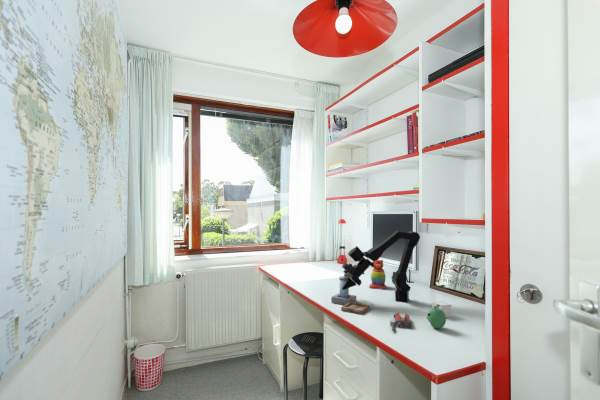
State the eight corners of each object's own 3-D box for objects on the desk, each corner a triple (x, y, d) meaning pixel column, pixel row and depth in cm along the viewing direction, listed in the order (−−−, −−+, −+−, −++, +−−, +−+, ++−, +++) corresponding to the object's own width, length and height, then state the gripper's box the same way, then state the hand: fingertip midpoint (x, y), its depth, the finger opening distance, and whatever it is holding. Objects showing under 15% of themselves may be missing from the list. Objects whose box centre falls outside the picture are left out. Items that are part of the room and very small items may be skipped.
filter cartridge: (350, 299, 178) (350, 276, 178) (346, 301, 173) (346, 278, 174) (341, 298, 181) (341, 275, 181) (337, 300, 176) (337, 277, 177)
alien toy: (429, 323, 144) (429, 301, 144) (448, 327, 139) (447, 304, 139) (424, 328, 138) (424, 304, 138) (443, 332, 133) (443, 308, 134)
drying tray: (370, 308, 165) (370, 305, 165) (361, 314, 156) (361, 310, 156) (350, 305, 171) (350, 301, 171) (341, 310, 162) (341, 306, 162)
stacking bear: (369, 288, 207) (369, 260, 208) (370, 284, 217) (370, 258, 217) (386, 289, 204) (386, 261, 205) (386, 285, 214) (386, 259, 214)
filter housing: (356, 301, 178) (356, 295, 178) (348, 305, 170) (348, 299, 170) (339, 298, 184) (339, 292, 184) (331, 302, 175) (331, 297, 176)
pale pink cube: (451, 317, 153) (451, 304, 153) (440, 318, 151) (440, 305, 151) (442, 313, 159) (442, 300, 159) (432, 314, 157) (432, 301, 157)
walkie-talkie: (389, 317, 152) (390, 333, 133) (389, 308, 153) (390, 322, 133) (409, 319, 150) (412, 335, 131) (409, 310, 150) (412, 324, 131)
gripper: (346, 255, 187) (328, 274, 186) (355, 260, 169) (334, 281, 167) (360, 268, 188) (341, 287, 186) (370, 274, 169) (349, 296, 168)
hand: (341, 288), depth 177 cm, fingers closed on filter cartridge, 5 cm apart
